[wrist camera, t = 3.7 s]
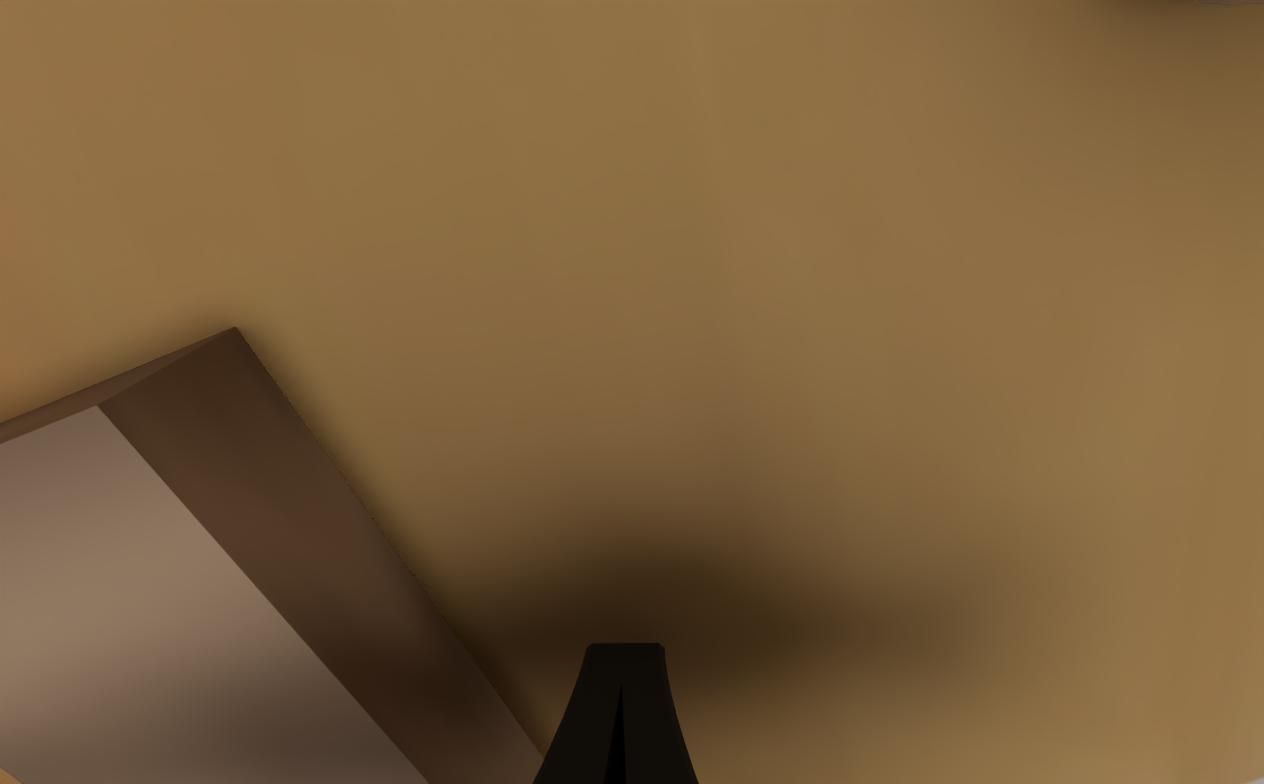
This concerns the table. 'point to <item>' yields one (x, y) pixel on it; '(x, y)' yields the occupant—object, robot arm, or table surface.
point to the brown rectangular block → (218, 601)
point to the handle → (1231, 2)
